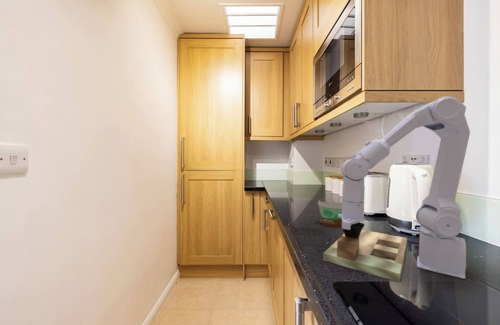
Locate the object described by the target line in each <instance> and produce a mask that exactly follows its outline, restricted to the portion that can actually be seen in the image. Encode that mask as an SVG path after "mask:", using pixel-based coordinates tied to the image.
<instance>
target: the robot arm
mask: <svg viewBox="0 0 500 325" xmlns="http://www.w3.org/2000/svg"><path fill="white" fill-rule="evenodd" d="M466 109H467V106H466V105H464V104H463V103H462V102H461V101H460V100H459V99H457V98H456V97H454V96H448V95H447V96H446V95H445V96H442V97H440V98H437V99H436V100H434V101H432V102H429V103H426V104H423V105H421V106H420V107H418V108H417V109H416V110H414V111H413V112H410V113H409V114H408V115H406V117H404V118H403V119H402V120H401V121H400V122H398V123H397V124H396V125H395V126H394V127H393V128H392V129H391V130H389V131H388V132H387V133H386V134H385V135H384V136H383V137H381V139H376V138H375V139H372V140H368V141H366V142H365V143H364V146H363V147H362V148H361V149H360V150H359V151H358V152H357V153H355V152H354V153H353V154H351V157H352V158H350V159H346V160H345V161H344V162H343V164H342V166H341V167H340V171H341V174H342V175H343V177H342V181H343V182H342V183H343V184H342V190H341V191H342V192H341V194H342V195H341V197H342V198H341V199H342V200H341V201H342V202H341V203H342V214H338V217H340V218H341V219H342V223H341V227H340V228H341V229H342V231H343V234H345V236H347V237H351V238H356V239H359V236H360V233H361V231H362V230H364V229H363V228H364V227H365V223H363V222H365V219H366V218H365V190H366V189H365V188H366V186H365V178H366V177H367V176H368V174H369V170H372V169H373V168H374V167H375V166H376V165H378V164H379V163H380V162H382V161H383V160H384V159H385V158H386V157H388V156H389V155H390V153H391V152H390V151H391V148H392V147H393V146H394V145H396V144H397V143H398V142H400V141H401V140H402V139H403V138H405V137H406V136H408V135H409V134H410V133H411V132H413V131H414V130H415V129H418V128H420V127H423V128H425V129H428V130H430V131H432V132H433V133H435V135H436V136H437V137H439V138H440V142H439V146H438V149H437V150H438V151H437V156H436V161H435V164H434V170H433V174H432V179H431V184H430V188H429V193H428V195H427V196H425V198H424V199H423V200H422V202H421V205H420V207H419V208H418V209H417V211H416V212H415V219H416V221H417V223H418V224H419V226H420V228H419V246H418V248H419V250H418V255H417V258H416V267H417V268H418V269H421V270H427V271H431V272H434V273H438V274H441V275H442V274H443V275H447V276H451V277H455V278H459V279H464V280H465V279H466V269H467V243H466V239H465V238H463V237H458V235H459V234H460V232H461V231H462V228H463V223H462V220H461V211H462V210H461V208H460V207H459V205H458V204H457V202H456V199H457V192H458V189H459V184H460V180H461V175H462V170H463V166H464V162H465V157H466V154H467V148H468V144H469V140H470V134H471V131H470V130H471V129H470V128H469V123H468V122H467V121H468V120H467V119H466V118H467V117H466V115H465V113H466Z"/></svg>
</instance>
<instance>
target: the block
mask: <svg viewBox="0 0 500 325" xmlns="http://www.w3.org/2000/svg"><path fill="white" fill-rule="evenodd" d="M336 241H337V257H341V258H345V259H349V260H352V261H355V260H356V259H357V257H358V256H359V239H356V238H351V237H347V236H342V235H341V236H340V237H339V238H338V239H337V240H336Z"/></svg>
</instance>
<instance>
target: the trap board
mask: <svg viewBox="0 0 500 325" xmlns="http://www.w3.org/2000/svg"><path fill="white" fill-rule="evenodd" d="M341 236H345V234H344V233H343V234H342V235H341ZM407 247H408V237H403V236H398V235H397V236H396V235H392V234H387V233H382V232H376V231H370V230H365V229H362V231H361V233H360V236H359V256H358V257H357V259H356V260H355V261H352V260H349V259H345V258H341V257H337V240H336V241H335V242H334V243H332V244H331V246H330V247H329V248H327V249H326V250H325V251H324V252H323V254H322V255H323V256H322V257H323V258H322V259H323V260H322V261H324V262H328V263H331V264H334V265H337V266H342V267H344V268H349V269H351V270H356V271H359V272H362V273H365V274H369V275H373V276H376V277H380V278H383V279H386V280H387V279H388V280H390V281H394V282H398V283H400V281H401V278H402V277H401V276H402V272H403V268H404V267H403V266H404V261H405V257H406V251H407Z"/></svg>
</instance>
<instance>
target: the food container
mask: <svg viewBox="0 0 500 325" xmlns="http://www.w3.org/2000/svg"><path fill="white" fill-rule="evenodd" d="M317 205H318V207H319V218H320V223H321V225H323V226H325V225H326V227H331V228H341V223H342V219H341V218H340V217H338V214H342V202H341V203H339V202H335V201H321V199H319V200H318V201H317Z"/></svg>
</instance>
